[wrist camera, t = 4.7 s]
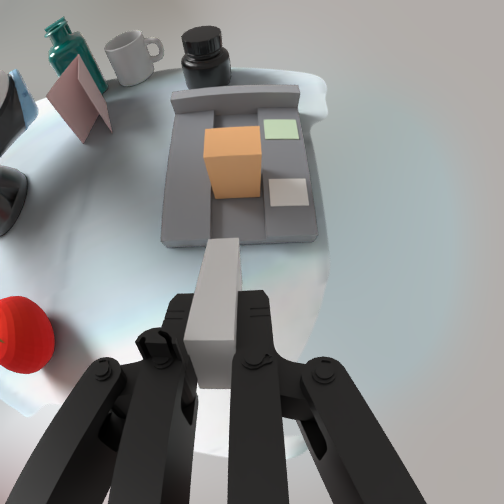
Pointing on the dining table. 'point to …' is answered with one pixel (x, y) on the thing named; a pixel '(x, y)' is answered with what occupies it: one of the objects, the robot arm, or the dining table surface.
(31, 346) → the tomato
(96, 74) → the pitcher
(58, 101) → the greeting card
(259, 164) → the lever
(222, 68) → the ink bottle
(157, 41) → the mug
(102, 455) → the robot arm
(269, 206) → the breaker housing
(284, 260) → the dining table surface
